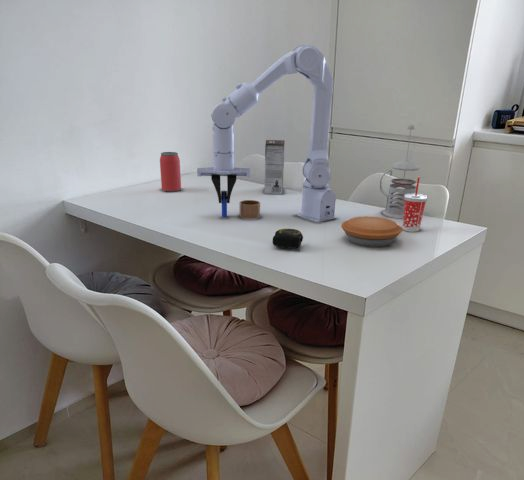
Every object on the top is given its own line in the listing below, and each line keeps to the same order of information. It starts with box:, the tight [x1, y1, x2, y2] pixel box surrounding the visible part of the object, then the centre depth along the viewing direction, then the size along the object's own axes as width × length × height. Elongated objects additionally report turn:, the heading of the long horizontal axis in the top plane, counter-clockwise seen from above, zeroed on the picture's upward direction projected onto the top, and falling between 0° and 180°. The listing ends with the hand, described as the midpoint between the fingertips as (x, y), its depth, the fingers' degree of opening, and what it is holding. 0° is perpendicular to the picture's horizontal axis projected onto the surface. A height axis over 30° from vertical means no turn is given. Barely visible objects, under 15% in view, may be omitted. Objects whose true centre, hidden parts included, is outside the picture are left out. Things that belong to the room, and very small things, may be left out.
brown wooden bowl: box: [238, 199, 261, 219], centre depth 156 cm, size 6×6×4 cm
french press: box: [379, 124, 421, 219], centre depth 157 cm, size 10×12×25 cm
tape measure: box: [272, 228, 304, 250], centre depth 133 cm, size 7×7×4 cm
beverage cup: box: [401, 176, 428, 233], centre depth 146 cm, size 6×6×14 cm
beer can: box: [159, 151, 182, 193], centre depth 182 cm, size 7×7×12 cm
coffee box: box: [264, 139, 286, 195], centre depth 183 cm, size 9×6×16 cm
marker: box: [221, 190, 228, 218], centre depth 154 cm, size 2×2×8 cm
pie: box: [340, 215, 404, 248], centre depth 138 cm, size 16×16×5 cm
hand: (224, 202), depth 153 cm, fingers closed on marker, 2 cm apart
